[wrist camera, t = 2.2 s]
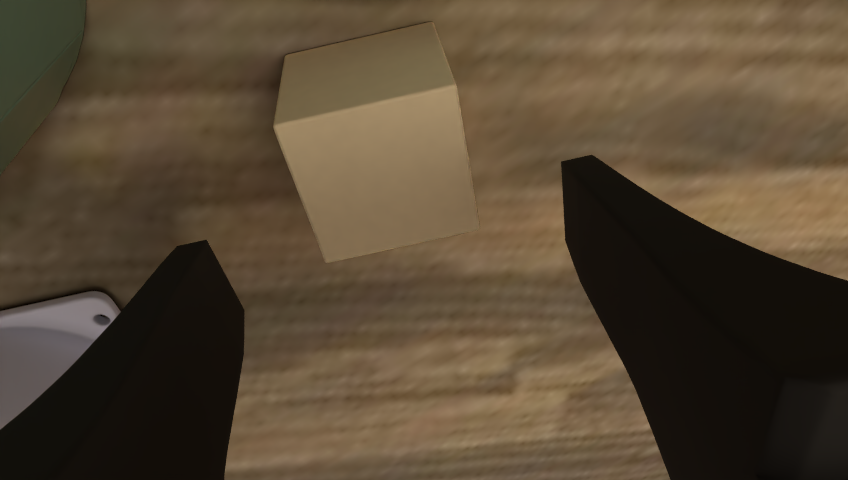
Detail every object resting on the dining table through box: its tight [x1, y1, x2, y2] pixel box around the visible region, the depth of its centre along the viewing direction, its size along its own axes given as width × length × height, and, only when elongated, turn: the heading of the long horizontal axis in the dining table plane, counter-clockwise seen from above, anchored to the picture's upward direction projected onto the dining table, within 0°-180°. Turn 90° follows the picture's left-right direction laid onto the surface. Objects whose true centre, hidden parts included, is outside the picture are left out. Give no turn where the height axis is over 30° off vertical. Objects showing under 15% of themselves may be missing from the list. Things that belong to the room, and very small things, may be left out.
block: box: [273, 22, 480, 263], centre depth 16 cm, size 4×4×4 cm
